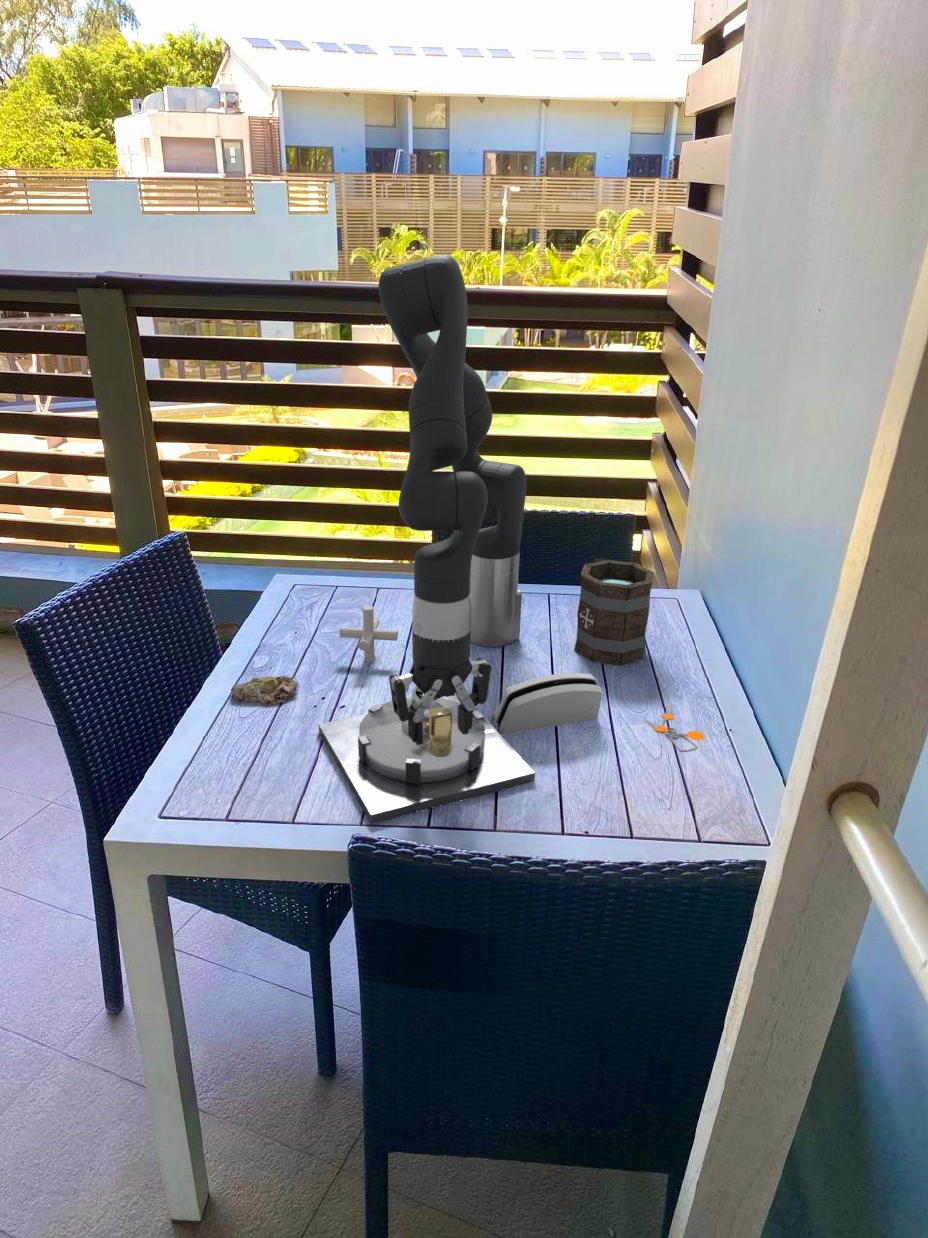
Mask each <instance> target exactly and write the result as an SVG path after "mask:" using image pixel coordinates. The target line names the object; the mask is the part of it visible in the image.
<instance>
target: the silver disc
mask: <svg viewBox="0 0 928 1238" xmlns="http://www.w3.org/2000/svg"><path fill="white" fill-rule="evenodd" d="M424 695H425V694H424V693H423V696H424ZM444 698H445V697H441V698H439V699H434V700H433V701H432V703H431V705H430V707H429V708H428V709H426V711H425V713H424V715H423V717H422V719H421V720H422V721H423V744H421V745H416V743H415V742H413V741H412V740H411V738H410V737H409V735H408V720H407V721H404V722H403V721H401V720H400V719H399V717H398V715H397V714H396V713H395V712H394V709H393V702H392V700H390V701H387V702H385V703H382V704H379V703H376V704H375V705H373V706H372V707H370V708H368V713H366V714H367V715H366V716H365V717H364V718H363V719H362V721H361V723H360V727H359V737H358V749H359V757H360V759H361V761H362V762H363V763H366V764H367V765H368V766H370V767H371V768H372V769H373V770H375V771H377V772H378V773H380V774H382V775H385V776H387V777H390V778H394V779H398V780H403V781H406V783H418V784H420V783H421V782H433V781H440V780H445V779H449V778H453V777H456V776H458V775H461V774H463V773H465V772H467V771H468V770H470V771H472V770H473V769H474V768H475V767H477V766H478V765H479V761H480V759H481V758H482V756H483V753H484V744H485V726H484V717H485V716H484V715H483V714H482V712H480V711H479V710H478V711H473V719H472V720H473V721H472V728H471V729H469V733H468V734H464V735H463V734H462V733H461V732H460V730H459V729H458V705H460V704H461V703H458V702H455V701H452V700H448V699H444ZM411 699H412V696H409V697H406V700H407V707H408V706H409V703H410V701H411ZM482 715H483V716H484V717H483V716H482Z"/></svg>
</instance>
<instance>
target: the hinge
mask: <svg viewBox="0 0 928 1238" xmlns="http://www.w3.org/2000/svg"><path fill="white" fill-rule="evenodd" d="M597 683H598V681H597V679H596V678H595V677H594V676H593V675H592V674H591V673H583V672H582V673H580V672H564V673H555V674H549V675H544V676H539V677H535V678H532V679H531V678H530V679H528V680H524V681H522V682H519V683H517V684H516V683H515V684H514V685H512V686H508V687H507V688H506V689H505V691H504V693H503V696H502V697H501V699H500V702H499V705H498V707H497V709H496V710H494V711H492V714H491V719H490V720H491V721H494V724H495V725H499V726H498V730H497V732H498V733H499V734H500V735H501V736H506V735H512V734H513V735H514V734H517V733H523V732H530V731H535V730H542V729H546V728H553V727H559V726H564V725H569V724H574V723H575V724H576V723H581V722H587V721H592V720H598V718H599V713H600V708H601V703H602V702H601V701H602V696H603V692H602V688H601V687H600V686H599V685H598V684H597Z"/></svg>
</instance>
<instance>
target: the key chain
mask: <svg viewBox="0 0 928 1238" xmlns="http://www.w3.org/2000/svg"><path fill="white" fill-rule="evenodd" d="M665 709H666V711H665V713H662V714H661V718H662V719H664V720H663V721H662V722H661V724H656V723H655V722H652V721H650V720H648V719H646V718H645V719H644V718H643V720H642V721H643V722H644V723H645V724H647V726H651V728H653V731H655V732H657V733H664V734H665V736H666V737H668V738H669V739H670V741H671V742H672V743H671V744H673V745H674V747H675V748H676V749H677V750H678V751H679V752H682V753H683V752H685V753H686V752H692V751H695V750H697V749H698V748H699V746H698V745H697V744H696V743H695V742H693V741H703V740H704V739H705V735H704V734H703V733H702V732H700V731H697V730H689V731H688V732H685V733H683V732H677V729H676V728H675V727H668V726H666V725H665V722H667V721H672V720H675V718H676V716H675V715H674V713H673V706H672V705H666V708H665ZM675 738H677V739H679V738H681V739H683V738H684V739H686V740H687V741H689V742H690V743H691V744H692V745H693V746H694V747H691V748H688V749H681V748H680V747H679V745H678V744H677V743H676V741H675ZM690 739H691V740H693V741H691V740H690Z"/></svg>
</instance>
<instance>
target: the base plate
mask: <svg viewBox="0 0 928 1238" xmlns="http://www.w3.org/2000/svg"><path fill="white" fill-rule="evenodd" d="M443 698H444V699H448V700H452V701H455V702H458V703H460V701H459V700H458V698H457V696H456V695H454V696H444V697H443ZM473 711H479V709H478V708H477V707H476V706H475V707H474V709H473ZM367 714H368V713H365V714H360V715H354V716H351V717H350V716H349V717H345V718H341V719H337V720H331V721H327V722H322V723H318V733H319V735H320V737H321V738H322V741H323V742H324V744H325V746H326V748H327V749H328V752H329V753H330V754H331V756H332V757H333V759H334V761H335V763H336V765H337V767H338V768H340V769H339V770H340V772H341V774H342V775H343V778H344V779H345V781H346V782H347V784H348V786H349V787H350V790H351V791H352V793H353V795H354V796H355V799H356V800H357V802H358V803H359V806H360V807H361V809H362V811H363V812H364V815H365V816H366V817H367V819H368V821H369V823H370V825H376V824H378V823H379V824H380V823H382V822H386V820H387V821H390V820H393V819H392V818H394V819H397V818H396V817H398V818H401V817H400V816H402V817H404V816H403V815H406V816H408V815H407V814H409V815H411V814H410V813H413V814H416V813H415V812H416V811H421V810H425V809H428V810H431V809H430V808H432V809H434V808H433V807H436V808H439V807H438V806H440V805H444V806H447V805H446V804H448V805H450V804H449V803H451V804H454V803H453V802H455V803H458V801H459V802H461V801H460V800H463V801H465V800H464V799H467V800H469V799H468V798H470V799H474V798H478V797H480V796H485V795H488V794H492V793H496V792H500V791H504V790H508V789H511V788H515V787H519V786H522V785H527V784H528V785H529V784H532V783H534V782H535V781H536V779H535V777H536V772H535V771H534V769H532V768H531V767H530V766H529V764H528V763H527V762H526V761H525V760H524V759H523V758H522V756H521V755H520V754H519V753H518V752H517V751H516V750H515V749H514V748H513V747H512V746H511V744H510V743H509V742H508V741H507V740H506V739H505V738H504V737H503V735H501V734H500V733H499V731H498V730H497V729H496V728H495V727H494V726H493V725H492V724H491V722H490V721H488V719H486V717H485V716H484V715H483V714H482V716H483V717H484V726H485V744H484V753H483V756H482V758H481V759H480V761H479V765H478V766H477V767H475V768H474V769H473V770H472V771H470V770H468V771H467V772H465V773H463V774H461V775H458V776H456V777H453V778H449V779H445V780H440V781H433V782H421V783H420V784H418V783H406V781H403V780H398V779H394V778H390V777H387V776H385V775H382V774H380V773H378V772H377V771H375V770H373V769H372V768H371V767H370V766H368V765H367V764H366V763H363V762H362V761H361V759H360V757H359V749H358V737H359V727H360V723H361V721H362V719H363V718H364V717H365V716H366V715H367ZM440 807H441V806H440ZM425 811H426V810H425ZM421 812H422V811H421Z"/></svg>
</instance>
